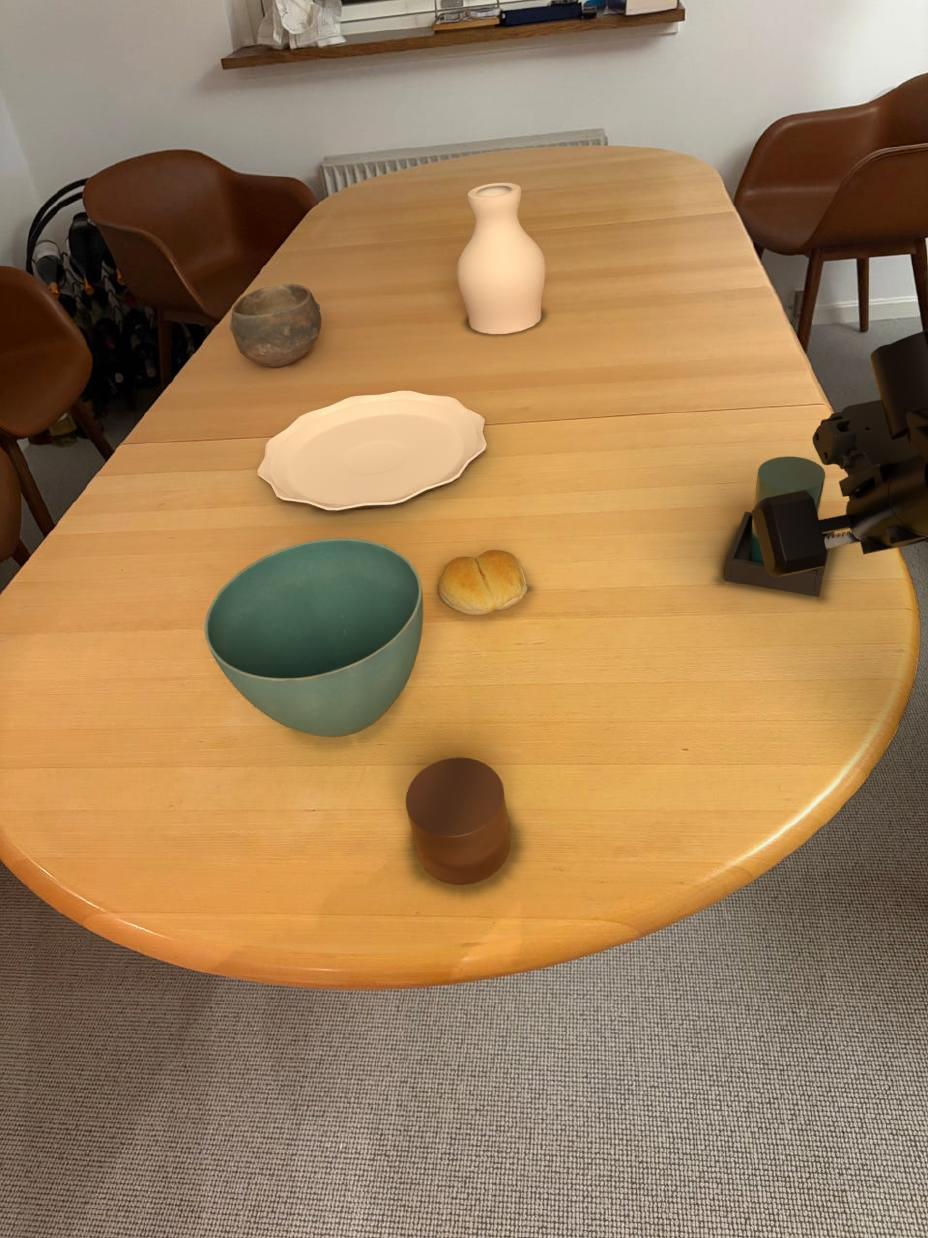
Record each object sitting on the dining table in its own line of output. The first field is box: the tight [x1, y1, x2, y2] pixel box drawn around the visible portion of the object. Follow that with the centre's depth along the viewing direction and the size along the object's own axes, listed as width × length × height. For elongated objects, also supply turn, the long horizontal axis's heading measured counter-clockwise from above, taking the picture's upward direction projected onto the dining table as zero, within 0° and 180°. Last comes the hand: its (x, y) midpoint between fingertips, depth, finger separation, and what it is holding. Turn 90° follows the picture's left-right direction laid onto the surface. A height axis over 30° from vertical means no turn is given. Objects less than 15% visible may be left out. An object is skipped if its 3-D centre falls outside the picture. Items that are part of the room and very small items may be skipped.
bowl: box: [229, 283, 322, 368], centre depth 140 cm, size 14×15×10 cm
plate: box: [256, 390, 488, 513], centre depth 114 cm, size 29×29×2 cm
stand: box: [405, 757, 512, 886], centre depth 66 cm, size 7×7×6 cm
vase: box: [456, 182, 547, 335], centre depth 139 cm, size 14×14×20 cm
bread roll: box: [437, 549, 528, 616], centre depth 90 cm, size 8×9×4 cm
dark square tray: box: [723, 511, 836, 598], centre depth 88 cm, size 9×9×2 cm
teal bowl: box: [203, 537, 424, 738], centre depth 77 cm, size 18×18×12 cm
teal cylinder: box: [748, 456, 826, 563], centre depth 86 cm, size 6×6×10 cm
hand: (828, 537), depth 78 cm, fingers open, 9 cm apart
